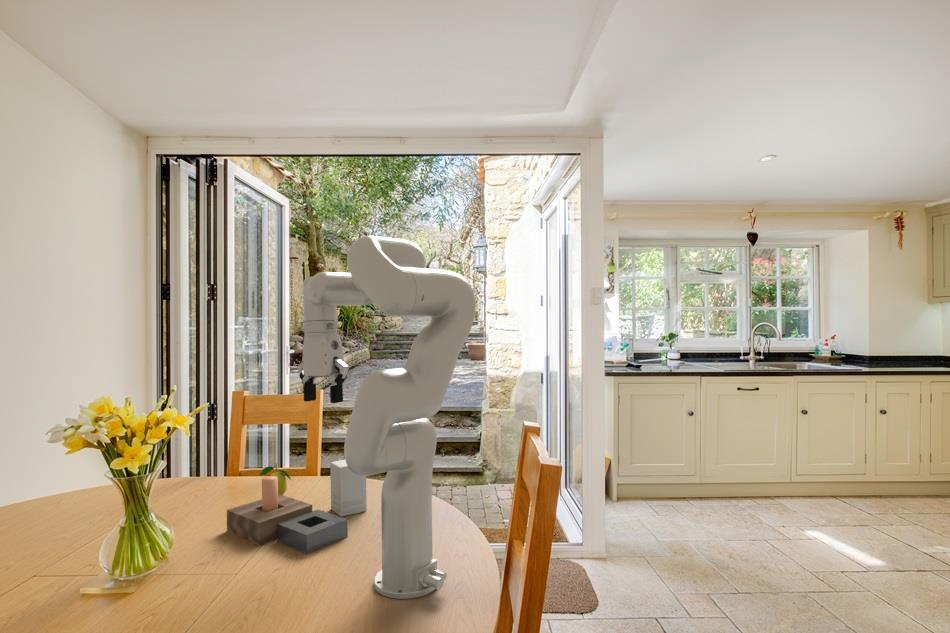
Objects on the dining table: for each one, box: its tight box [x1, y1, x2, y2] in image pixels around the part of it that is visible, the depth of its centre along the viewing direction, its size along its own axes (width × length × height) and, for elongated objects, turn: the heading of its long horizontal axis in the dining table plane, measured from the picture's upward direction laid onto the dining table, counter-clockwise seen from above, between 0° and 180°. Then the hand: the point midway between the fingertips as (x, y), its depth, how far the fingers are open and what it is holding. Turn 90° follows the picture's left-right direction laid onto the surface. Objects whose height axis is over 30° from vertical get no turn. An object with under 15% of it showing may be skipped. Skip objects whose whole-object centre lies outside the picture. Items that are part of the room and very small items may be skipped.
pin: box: [261, 475, 278, 512], centre depth 128 cm, size 4×4×12 cm
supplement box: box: [329, 459, 368, 517], centre depth 140 cm, size 7×7×13 cm
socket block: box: [226, 494, 313, 546], centre depth 128 cm, size 14×14×5 cm
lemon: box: [259, 462, 291, 495], centre depth 149 cm, size 7×6×10 cm
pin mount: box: [276, 509, 349, 555], centre depth 121 cm, size 11×11×4 cm
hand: (323, 401), depth 125 cm, fingers open, 9 cm apart
